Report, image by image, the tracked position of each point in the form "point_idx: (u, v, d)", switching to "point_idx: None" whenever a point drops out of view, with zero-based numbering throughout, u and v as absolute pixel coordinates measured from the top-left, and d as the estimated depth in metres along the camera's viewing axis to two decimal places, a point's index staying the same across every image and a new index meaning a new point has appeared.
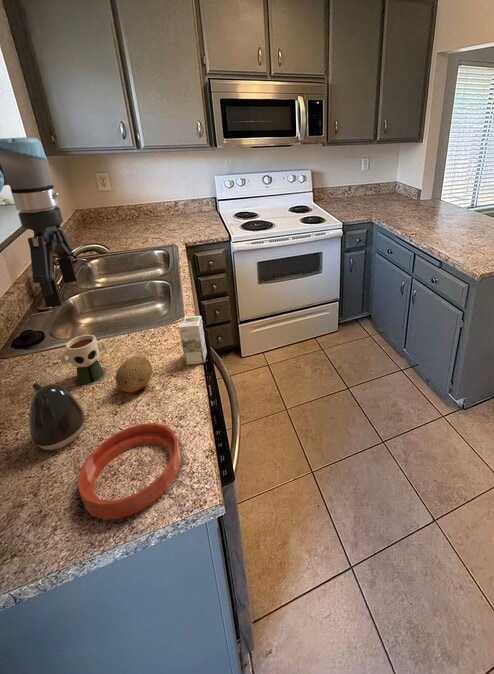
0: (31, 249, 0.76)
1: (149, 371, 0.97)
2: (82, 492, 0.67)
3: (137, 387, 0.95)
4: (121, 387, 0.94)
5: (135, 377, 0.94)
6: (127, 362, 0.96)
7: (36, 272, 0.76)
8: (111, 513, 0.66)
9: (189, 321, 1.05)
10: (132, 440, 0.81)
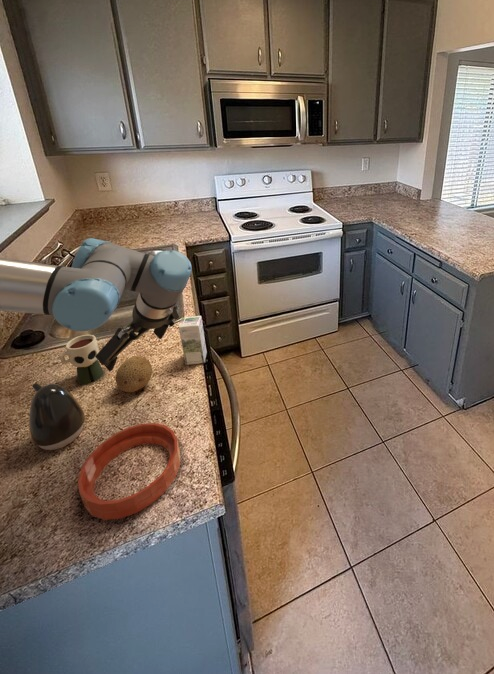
0: (114, 335, 0.76)
1: (149, 371, 0.97)
2: (82, 492, 0.67)
3: (137, 387, 0.95)
4: (121, 387, 0.94)
5: (135, 377, 0.94)
6: (127, 362, 0.96)
7: (102, 352, 0.76)
8: (111, 513, 0.66)
9: (189, 321, 1.05)
10: (132, 440, 0.81)
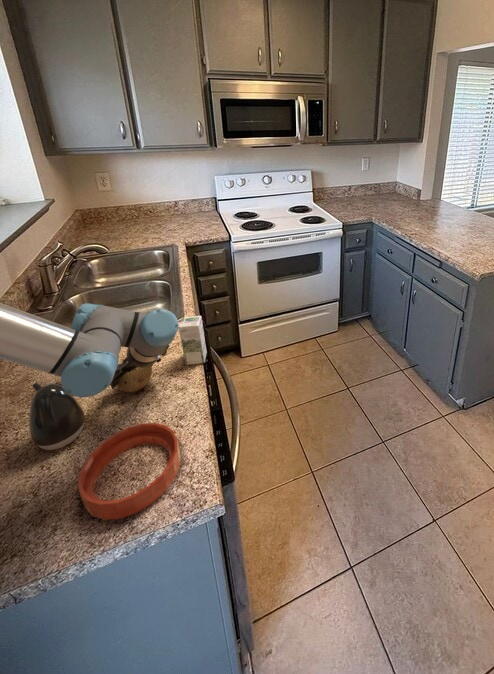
0: None
1: (149, 371, 0.97)
2: (82, 492, 0.67)
3: (137, 387, 0.95)
4: (121, 387, 0.94)
5: (135, 377, 0.94)
6: None
7: None
8: (111, 513, 0.66)
9: (189, 321, 1.05)
10: (132, 440, 0.81)
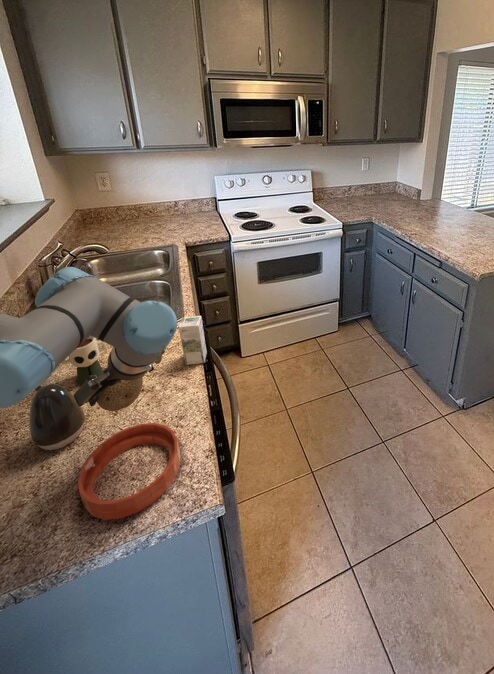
0: (86, 382, 0.64)
1: (139, 384, 0.76)
2: (82, 492, 0.67)
3: (123, 405, 0.73)
4: (102, 405, 0.72)
5: (120, 392, 0.73)
6: None
7: (78, 394, 0.67)
8: (111, 513, 0.66)
9: (189, 321, 1.05)
10: (132, 440, 0.81)
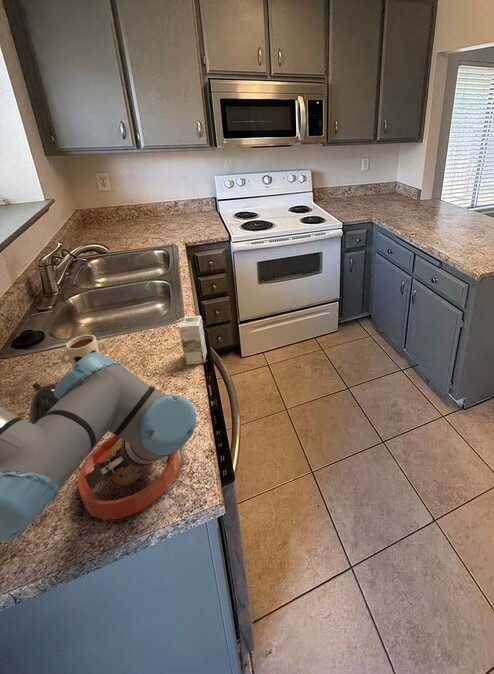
0: (98, 467, 0.61)
1: None
2: (82, 492, 0.67)
3: None
4: (114, 480, 0.69)
5: (134, 469, 0.69)
6: None
7: (90, 476, 0.64)
8: (111, 513, 0.66)
9: (189, 321, 1.05)
10: None
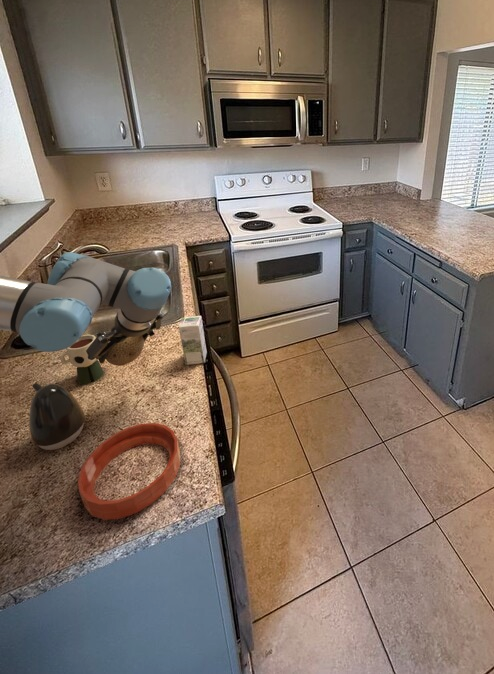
0: (96, 338, 0.77)
1: (141, 345, 0.89)
2: (82, 492, 0.67)
3: (127, 361, 0.86)
4: (109, 360, 0.85)
5: (125, 351, 0.85)
6: None
7: (90, 349, 0.80)
8: (111, 513, 0.66)
9: (189, 321, 1.05)
10: (132, 440, 0.81)
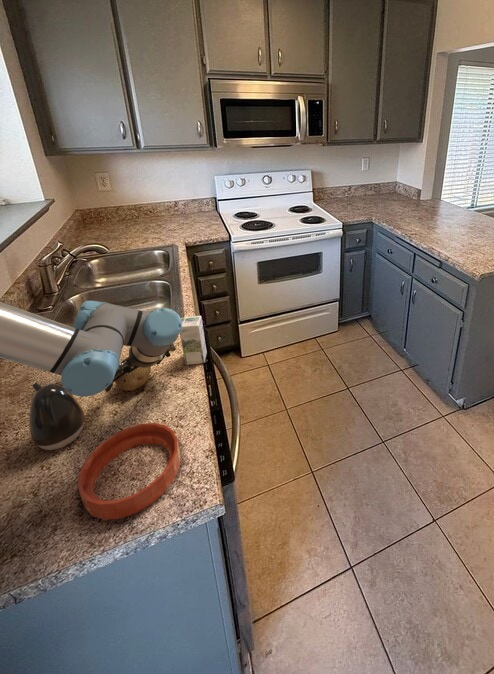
0: None
1: (148, 370, 0.98)
2: (82, 492, 0.67)
3: (136, 385, 0.95)
4: (120, 385, 0.94)
5: (134, 376, 0.95)
6: None
7: None
8: (111, 513, 0.66)
9: (189, 321, 1.05)
10: (132, 440, 0.81)
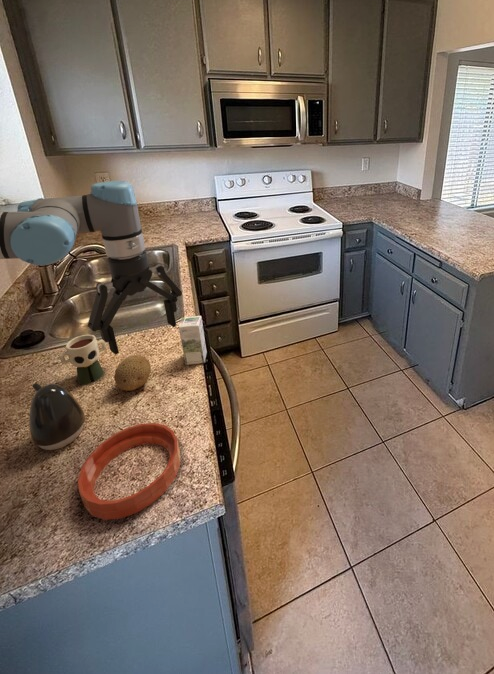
0: (96, 294, 0.75)
1: (148, 370, 0.98)
2: (82, 492, 0.67)
3: (136, 385, 0.95)
4: (120, 385, 0.94)
5: (134, 376, 0.95)
6: (126, 361, 0.96)
7: (91, 318, 0.75)
8: (111, 513, 0.66)
9: (189, 321, 1.05)
10: (132, 440, 0.81)
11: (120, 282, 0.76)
